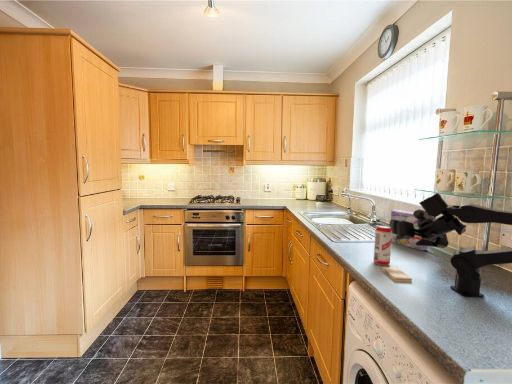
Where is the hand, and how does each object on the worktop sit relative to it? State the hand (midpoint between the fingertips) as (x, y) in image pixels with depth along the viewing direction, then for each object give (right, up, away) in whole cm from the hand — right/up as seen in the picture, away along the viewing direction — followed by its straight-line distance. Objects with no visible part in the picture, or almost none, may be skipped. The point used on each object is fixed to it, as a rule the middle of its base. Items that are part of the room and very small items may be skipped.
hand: (406, 241), depth 104 cm
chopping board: (-7, -12, -5) cm, 15 cm away
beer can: (-7, -11, +7) cm, 14 cm away
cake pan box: (+19, -8, +32) cm, 38 cm away
